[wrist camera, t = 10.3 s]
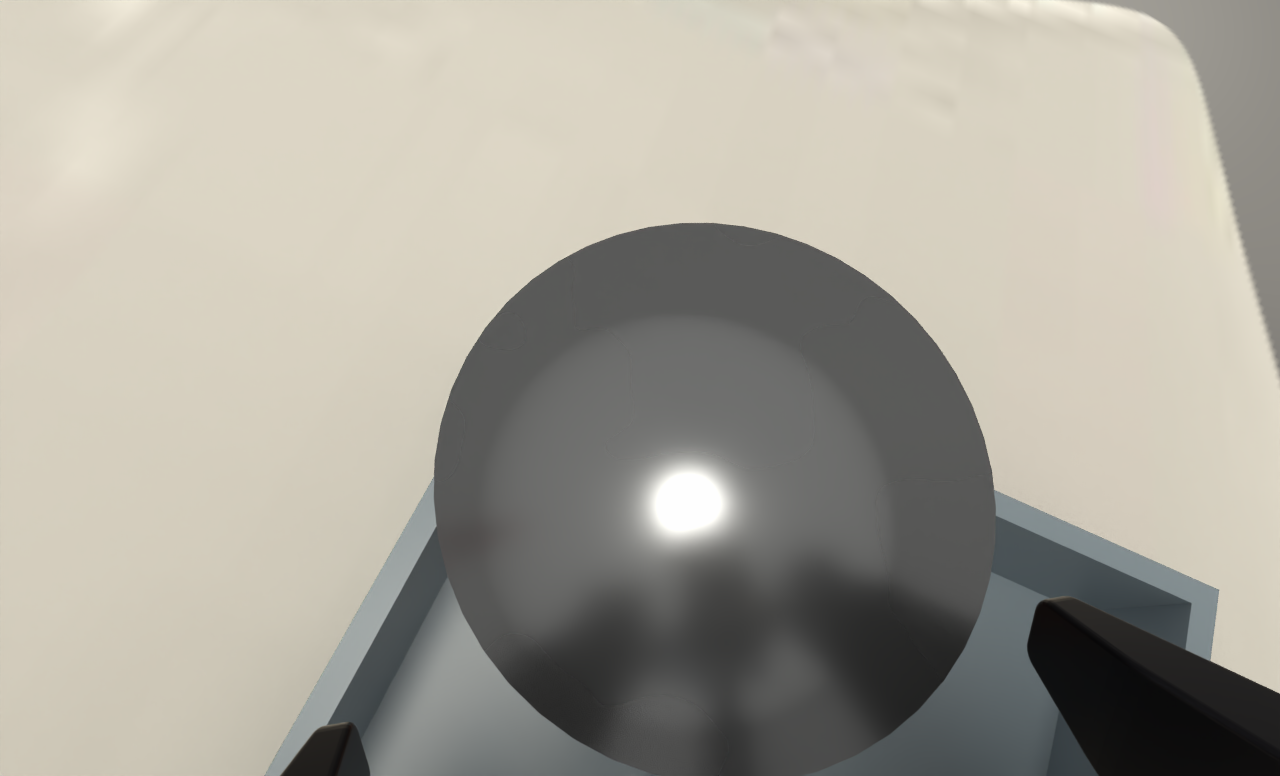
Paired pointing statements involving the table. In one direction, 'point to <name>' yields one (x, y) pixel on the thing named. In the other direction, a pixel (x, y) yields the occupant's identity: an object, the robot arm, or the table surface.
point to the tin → (714, 503)
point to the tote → (885, 772)
